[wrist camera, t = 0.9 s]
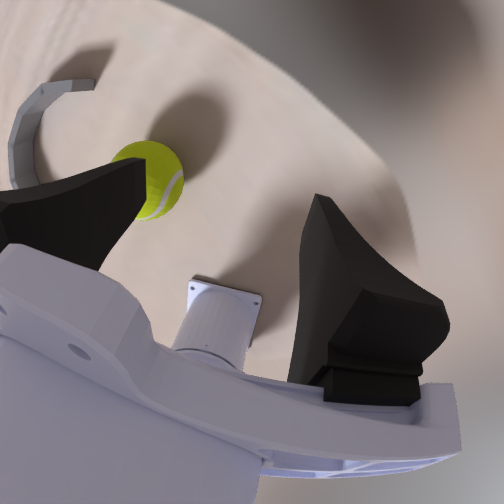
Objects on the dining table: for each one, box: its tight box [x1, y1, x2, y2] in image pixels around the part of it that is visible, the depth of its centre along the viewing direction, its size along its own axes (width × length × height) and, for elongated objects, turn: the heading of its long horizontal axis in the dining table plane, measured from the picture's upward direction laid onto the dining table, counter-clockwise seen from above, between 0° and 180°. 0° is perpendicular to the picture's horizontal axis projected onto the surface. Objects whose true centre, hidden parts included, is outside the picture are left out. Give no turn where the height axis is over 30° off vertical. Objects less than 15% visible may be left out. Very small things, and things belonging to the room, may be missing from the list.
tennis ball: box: [111, 141, 184, 221], centre depth 22 cm, size 7×7×7 cm
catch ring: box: [8, 79, 95, 190], centre depth 23 cm, size 17×11×4 cm, turn 169°
